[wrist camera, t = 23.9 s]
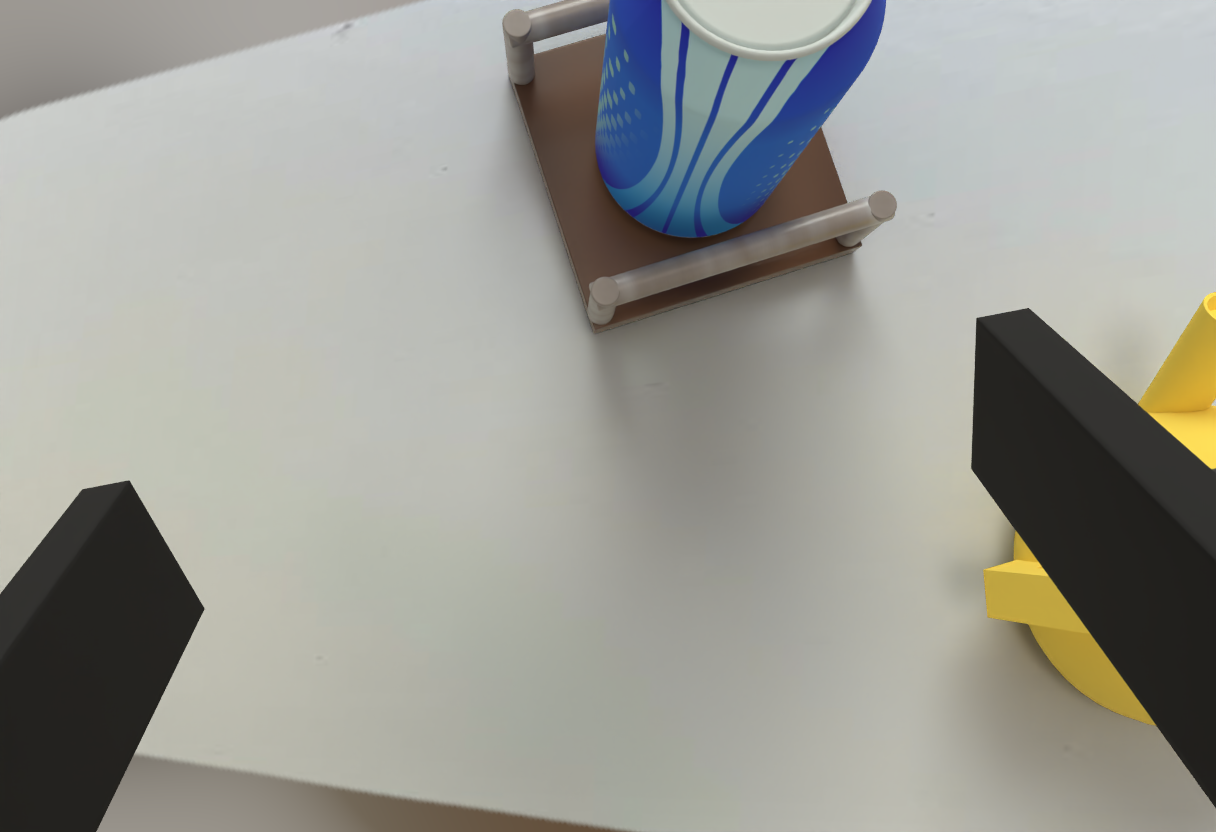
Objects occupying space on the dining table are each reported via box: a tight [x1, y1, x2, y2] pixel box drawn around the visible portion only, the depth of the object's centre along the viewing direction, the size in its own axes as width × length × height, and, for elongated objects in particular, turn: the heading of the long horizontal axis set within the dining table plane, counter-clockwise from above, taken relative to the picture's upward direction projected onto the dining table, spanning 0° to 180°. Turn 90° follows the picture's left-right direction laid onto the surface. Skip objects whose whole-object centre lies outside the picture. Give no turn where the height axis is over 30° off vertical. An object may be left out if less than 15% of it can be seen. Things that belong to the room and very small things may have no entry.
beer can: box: [595, 0, 886, 238], centre depth 32 cm, size 8×8×16 cm
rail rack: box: [502, 0, 897, 334], centre depth 39 cm, size 13×13×6 cm
